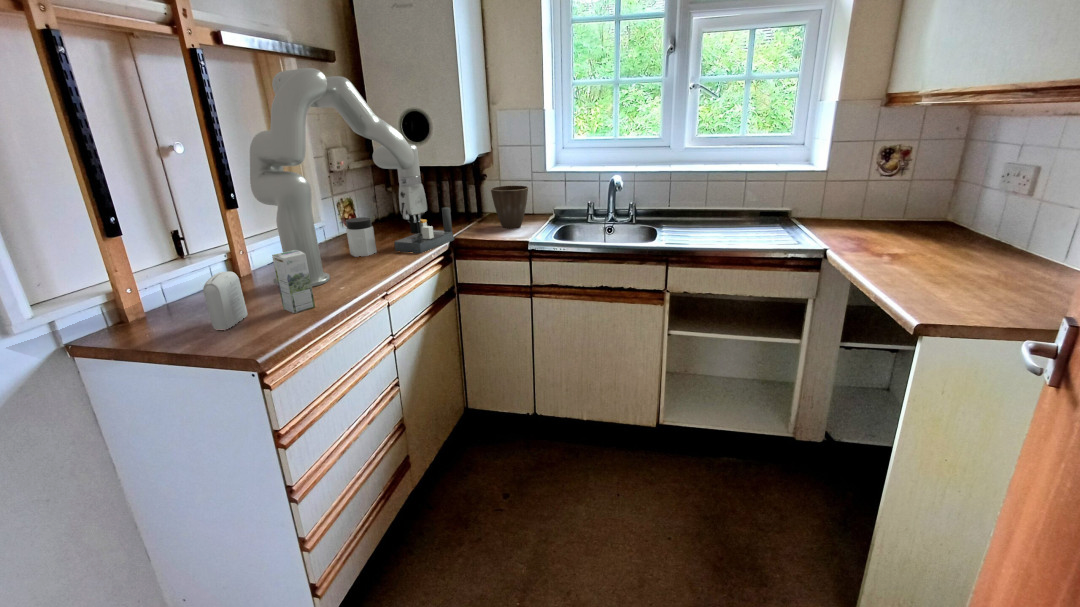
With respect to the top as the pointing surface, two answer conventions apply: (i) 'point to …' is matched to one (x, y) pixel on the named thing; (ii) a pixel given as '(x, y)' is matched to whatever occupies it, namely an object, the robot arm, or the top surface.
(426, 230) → the paddle
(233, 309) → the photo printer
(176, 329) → the top surface
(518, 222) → the plant pot
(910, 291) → the top surface
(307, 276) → the syrup box
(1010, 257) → the top surface
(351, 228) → the jar
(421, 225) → the paddle on
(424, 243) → the breaker panel
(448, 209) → the post
